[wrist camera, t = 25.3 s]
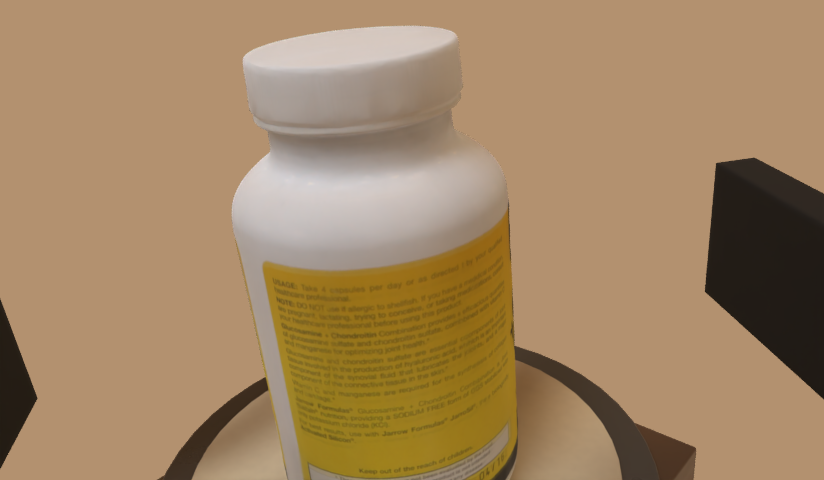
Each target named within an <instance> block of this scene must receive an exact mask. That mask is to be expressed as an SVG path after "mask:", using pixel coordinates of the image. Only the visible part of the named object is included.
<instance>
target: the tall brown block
mask: <svg viewBox="0 0 824 480" xmlns="http://www.w3.org/2000/svg"><path fill="white" fill-rule="evenodd" d="M514 349H515V373H516V399H517V417H518V449H517V458H516V463H515V467H514V470H513V473H512V475H511V477H510V479H509V480H693V478H694V468H695V457H696V448H695V447H693V446H690V445H688V444H685V443H683V442H681V441H678V440H676V439H673V438H671V437H668V436H666V435H663V434H661V433H658V432H656V431H653V430H651V429H648V428H646V427H643V426H641V425H638V424H636V423H634V422H633V421H632V419H631V418H630V417H629V416H628V415H627V414H626V412H625V411H624V410H623V409H622V408H621V407H620V406H619V404H618V403H617V402H616V401H614V400H613V399H612V398H611V397H610V396H609V395H608V394H607V393H606V392H604V391H603V390H602V389H601V388H600V387H598V386H597V385H596V384H594V383H593V382H591V381H590V380H588V379H587V378H586V377H584V376H583V375H581V374H579V373H577V372H576V371H574V370H572V369H570V368H569V367H567V366H565V365H563V364H561V363H559V362H557V361H555V360H552V359H550V358H548V357H545V356H543V355H541V354H538V353H535V352H532V351H529V350H525V349H523V348H520V347H516V346H514ZM158 480H288V479H287V475H286V470H285V466H284V462H283V456H282V451H281V447H280V442H279V437H278V433H277V428H276V423H275V418H274V413H273V409H272V404H271V399H270V394H269V389H268V385H267V380H266V377H265V378H263V379H261V380H259V381H258V382H256V383H254V384H252V385H251V386H249V387H248V388H246V389H245V390H243V391H242V392H240V393H239V394H238V395H236V396H235V397H233V398H232V399H231V400H229V401H228V402H227V403H226V404H224V405H223V406H222V407H221V408H219V409H218V410H217V411H216V412H215V413H213V414H212V415H211V416H210V417H209V418H208V419H207V420H206V421H205V422H204V423H203V424H202V425H201V426H200V427H199V428H198V429H197V430H196V431H195V432H194V433H193V435H192V436H191V437H190V438H189V440H188V441H187V442H186V444H185V445H184V446H183V447H182V448H181V450H180V451H179V452H178V454H177V456H176V457H175V459H174V460H173V462H172V464H171V465H170V467H169V468H168V470H167V472H166V474H165V475H164V476H162V477H161V478H160V479H158Z"/></svg>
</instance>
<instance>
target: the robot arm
mask: <svg viewBox="0 0 824 480" xmlns="http://www.w3.org/2000/svg"><path fill="white" fill-rule="evenodd" d="M705 292H706V293H707V294H708V295H709V296H710V297H712V298H713V299H714V300H715V301H716V302H717V303H718V304H719V305H720V306H721V307H722V308H724V309H725V310H726V311H727V312H728V313H729V314H730V315H731V316H732V317H734V318H735V319H736V320H737V321H738V322H739V323H740V324H741V325H743V327H745V328H746V329H747V330H748V331H749V332H750V333H751V334H752V335H754V337H756V338H757V339H758V340H759V341H760V342H761V343H762V344H763V345H764V346H766V347H767V348H768V349H769V350H770V351H771V352H772V353H773V354H774V355H775V356H777V357H778V358H779V359H780V360H781V361H782V362H783V363H784V364H785V365H786V366H788V367H789V368H790V369H791V370H792V371H793V372H794V373H795V374H797V375H798V376H799V377H800V378H801V379H802V380H803V381H804V382H805V383H806V384H807V385H809V386H810V387H811V388H812V389H813V390H814V391H815V392H816V393H818V394H819V395H820V396H821V397H822V398H823V399H824V194H823V193H821V192H819V191H818V190H816V189H813V188H812V187H810V186H808V185H806V184H804V183H802V182H800V181H798V180H796V179H794V178H793V177H790V176H789V175H787V174H785V173H783V172H781V171H779V170H777V169H775V168H773V167H771V166H769V165H767V164H766V163H764V162H762V161H760V160H758V159H756V158H749V159H742V160H735V161H728V162H721V163H716V171H715V182H714V194H713V205H712V218H711V228H710V240H709V251H708V263H707V273H706V285H705ZM36 400H37V396H36V393H35V390H34V388H33V385H32V383H31V380H30V377H29V374H28V372H27V369H26V367H25V364H24V361H23V358H22V356H21V353H20V351H19V348H18V345H17V342H16V340H15V337H14V334H13V332H12V329H11V326H10V324H9V321H8V318H7V316H6V313H5V310H4V308H3V305H2V302H1V300H0V468H1V466H2V464H3V463H4V461H5V459H6V457H7V455H8V453H9V451H10V449H11V447H12V445H13V444H14V442H15V440H16V438H17V436H18V434H19V432H20V430H21V429H22V427H23V425H24V423H25V421H26V419H27V417H28V415H29V413H30V412H31V410H32V408H33V406H34V404H35V402H36Z"/></svg>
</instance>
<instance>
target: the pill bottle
mask: <svg viewBox="0 0 824 480" xmlns="http://www.w3.org/2000/svg"><path fill="white" fill-rule="evenodd" d="M243 68H244V75H245V81H246V87H247V95H248V104H249V109H250V111H251V113H252V114H253V120H254V122H255V123H256V124H257V125H258V126H259V127H261V128H262V129H265V130H267V131H268V137H269V143H270V153H268V154H267V155H266V156H265V157H263V158H262V159H261V160H260V161H259V162H258V163H257V164H256V165H255V166H254V167H253V168H252V169H251V170H250V171H249V172H248V173H247V175H246V176H245V177H244V179H243V180H242V182H241V183H240V185H239V187H238V189H237V191H236V194H235V196H234V199H233V204H232V224H233V231H234V236H235V241H236V245H237V250H238V254H239V259H240V264H241V268H242V272H243V277H244V282H245V286H246V291H247V295H248V300H249V304H250V308H251V313H252V317H253V322H254V326H255V331H256V335H257V339H258V344H259V348H260V353H261V357H262V362H263V367H264V371H265V376H266V380H267V385H268V389H269V394H270V399H271V404H272V409H273V413H274V418H275V423H276V428H277V433H278V437H279V442H280V447H281V451H282V456H283V462H284V466H285V470H286V475H287V479H288V480H509V479H510V477H511V475H512V473H513V470H514V467H515V463H516V458H517V449H518V417H517V399H516V373H515V349H514V321H513V297H512V273H511V253H510V224H509V200H508V192H507V184H506V180H505V176H504V173H503V171H502V169H501V167H500V165H499V163H498V162H497V161H496V159H495V158H494V156H492V154H491V153H490V152H489V151H488V150H487V149H486V148H484V147H483V146H482V145H481V144H480V143H478V142H477V141H475V140H474V139H473V138H471V137H469V136H468V135H466V134H464V133H462V132H460V131H457V130H455V129H454V128H453V122H452V112H451V108H453V107H454V106H455V105H456V104H457V103H458V102H459V100H460V99H461V93H460V91H461V89H462V87H463V84H462V72H461V63H460V51H459V41H458V37H457V35H456V34H455V33H454V32H453V31H450V30H446V29H442V28H436V27H426V26H383V27H367V28H355V29H346V30H336V31H329V32H322V33H316V34H311V35H304V36H299V37H294V38H290V39H285V40H281V41H277V42H273V43H270V44H267V45H264V46H261V47H259V48H256V49H254V50H252V51H250V52H249V53H247V54H246V55H245V56H244V58H243Z"/></svg>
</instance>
